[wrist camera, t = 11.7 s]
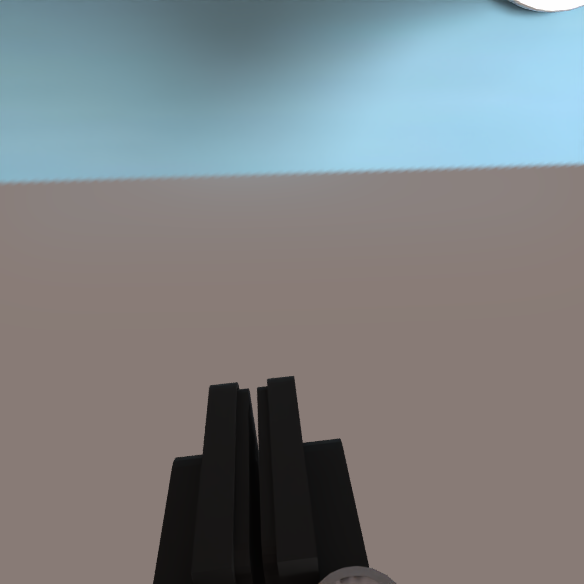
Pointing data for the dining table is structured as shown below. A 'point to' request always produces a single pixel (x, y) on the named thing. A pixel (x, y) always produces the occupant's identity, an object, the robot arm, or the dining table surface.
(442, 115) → the dining table surface
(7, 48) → the dining table surface
